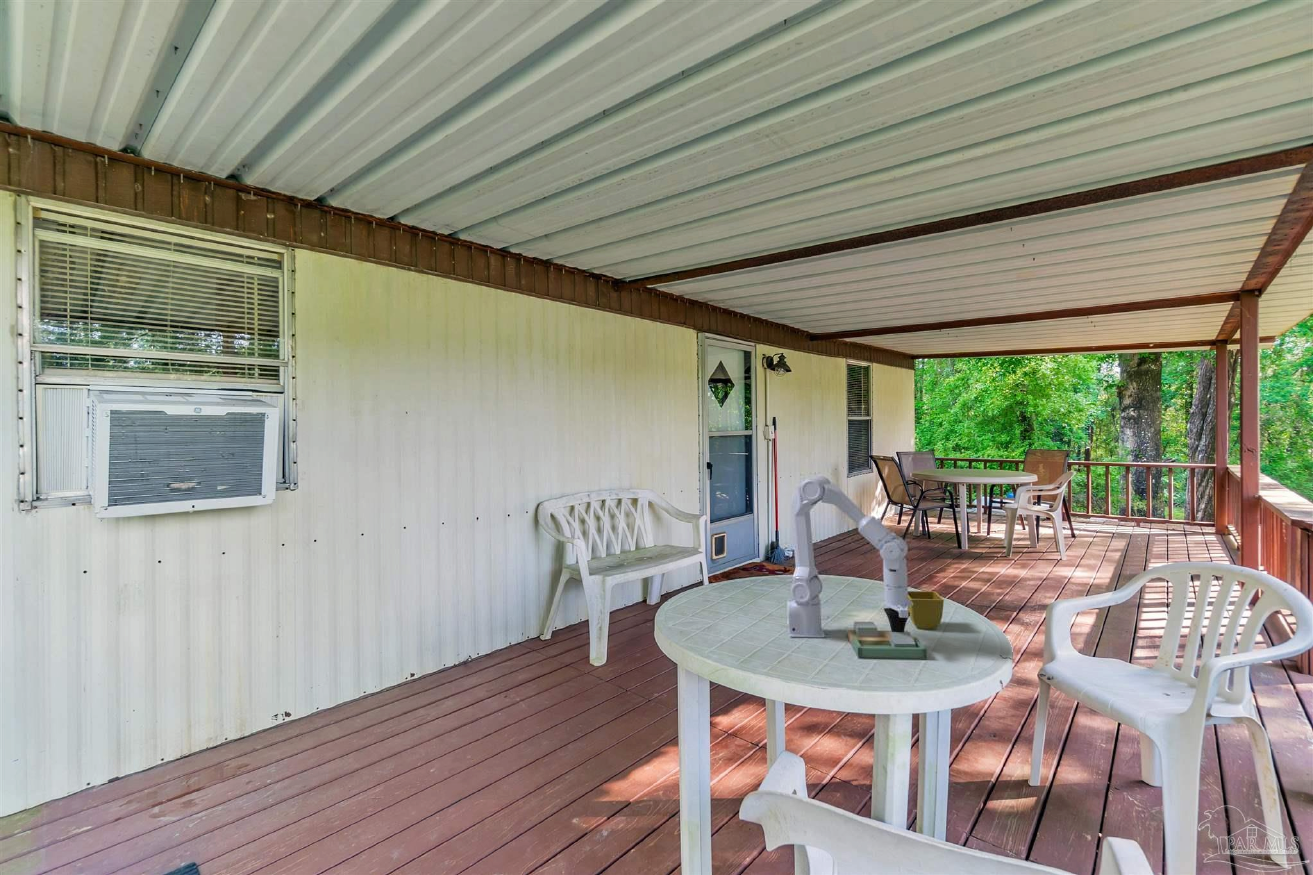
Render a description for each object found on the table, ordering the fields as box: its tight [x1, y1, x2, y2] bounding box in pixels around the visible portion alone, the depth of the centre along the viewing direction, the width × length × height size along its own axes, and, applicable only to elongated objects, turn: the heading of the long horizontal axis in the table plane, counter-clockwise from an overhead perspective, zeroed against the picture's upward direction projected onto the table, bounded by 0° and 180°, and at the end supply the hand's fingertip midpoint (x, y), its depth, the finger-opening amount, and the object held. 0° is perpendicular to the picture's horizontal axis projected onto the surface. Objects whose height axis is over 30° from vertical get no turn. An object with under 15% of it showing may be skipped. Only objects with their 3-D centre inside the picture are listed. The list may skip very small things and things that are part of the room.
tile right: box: [889, 631, 916, 648], centre depth 146 cm, size 5×5×2 cm
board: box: [846, 629, 913, 646], centre depth 153 cm, size 16×8×2 cm, turn 81°
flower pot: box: [908, 590, 945, 630], centre depth 164 cm, size 9×9×9 cm
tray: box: [851, 636, 928, 660], centre depth 145 cm, size 16×8×2 cm, turn 81°
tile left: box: [853, 621, 878, 637], centre depth 155 cm, size 5×5×2 cm
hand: (897, 637), depth 149 cm, fingers closed
